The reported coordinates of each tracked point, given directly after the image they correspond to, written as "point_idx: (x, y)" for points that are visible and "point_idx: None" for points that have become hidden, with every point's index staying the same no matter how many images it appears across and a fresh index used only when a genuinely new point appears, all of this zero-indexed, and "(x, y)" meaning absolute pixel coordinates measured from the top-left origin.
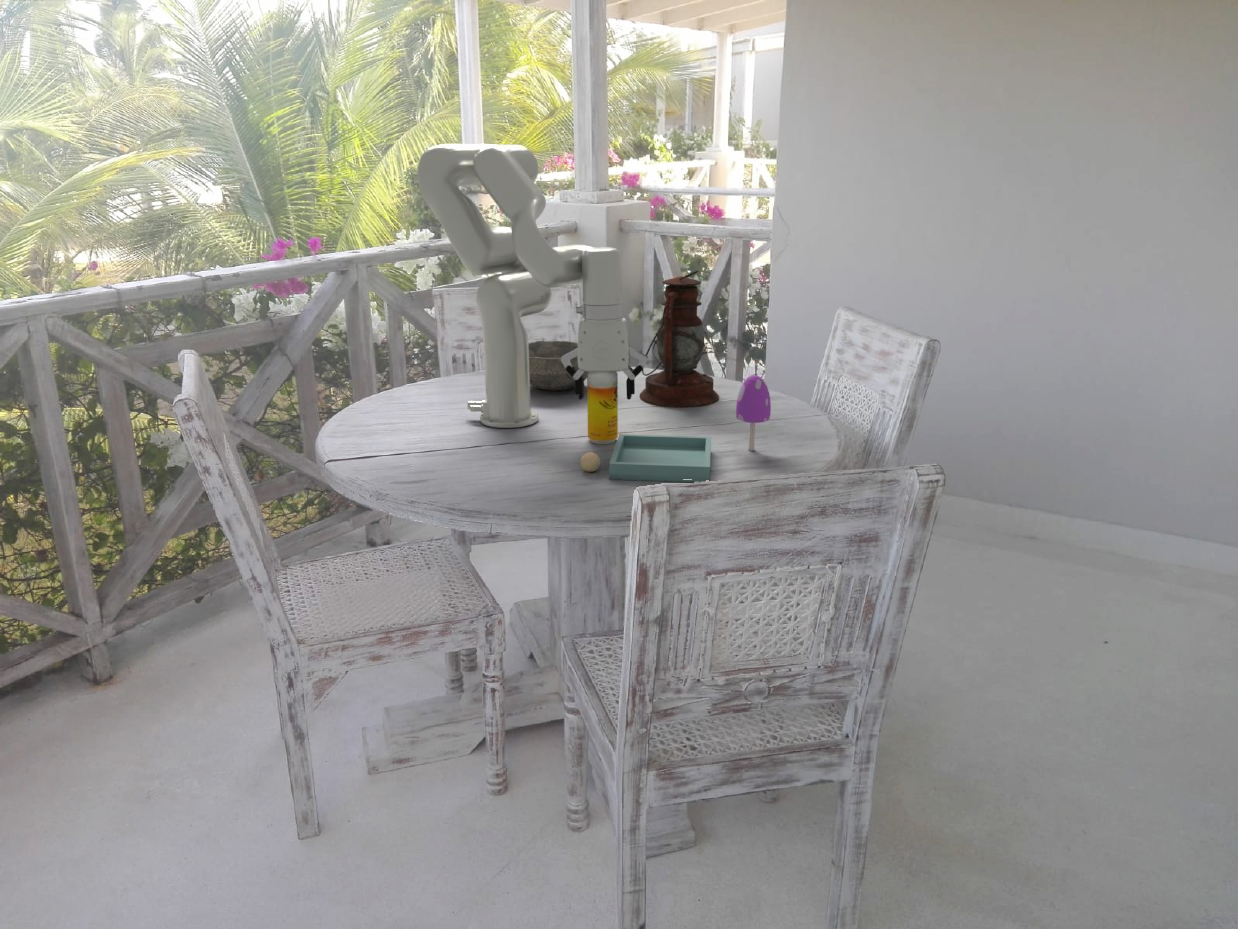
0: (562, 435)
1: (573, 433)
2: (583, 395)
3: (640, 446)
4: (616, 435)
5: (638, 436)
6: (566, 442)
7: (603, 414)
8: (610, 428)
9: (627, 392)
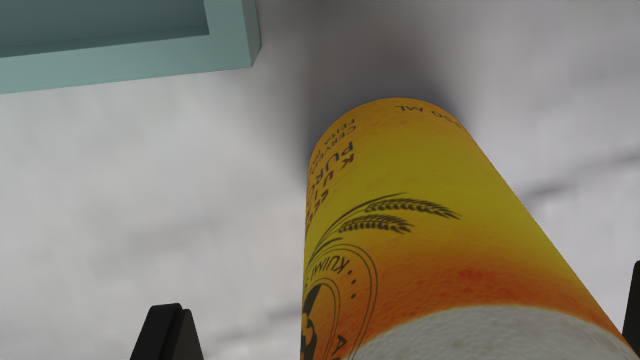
0: (621, 209)
1: (563, 251)
2: (633, 331)
3: (115, 23)
4: (308, 174)
5: (109, 44)
6: (592, 96)
7: (393, 168)
8: (336, 149)
9: (164, 351)
